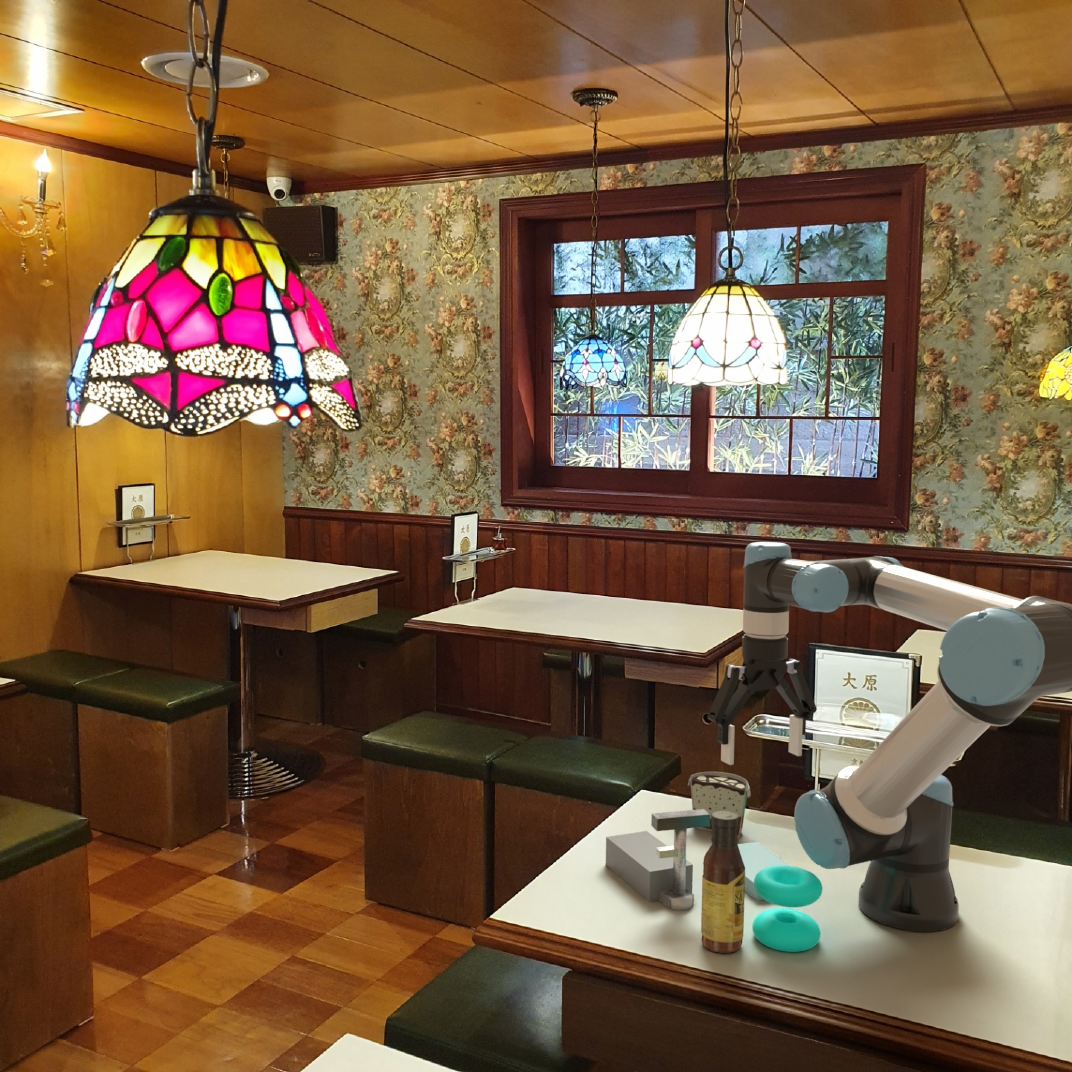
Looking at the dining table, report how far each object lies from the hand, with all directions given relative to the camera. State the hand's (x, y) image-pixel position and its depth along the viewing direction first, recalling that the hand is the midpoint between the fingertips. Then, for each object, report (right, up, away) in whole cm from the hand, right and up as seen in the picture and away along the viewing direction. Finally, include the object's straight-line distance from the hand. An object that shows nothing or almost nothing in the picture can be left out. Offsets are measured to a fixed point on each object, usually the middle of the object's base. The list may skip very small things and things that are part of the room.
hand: (761, 758), depth 185 cm
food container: (-2, -19, +25) cm, 31 cm away
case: (-18, -21, -1) cm, 28 cm away
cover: (0, -21, +2) cm, 21 cm away
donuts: (-1, -23, -20) cm, 31 cm away
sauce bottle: (-11, -23, -22) cm, 34 cm away
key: (-15, -20, -9) cm, 26 cm away
